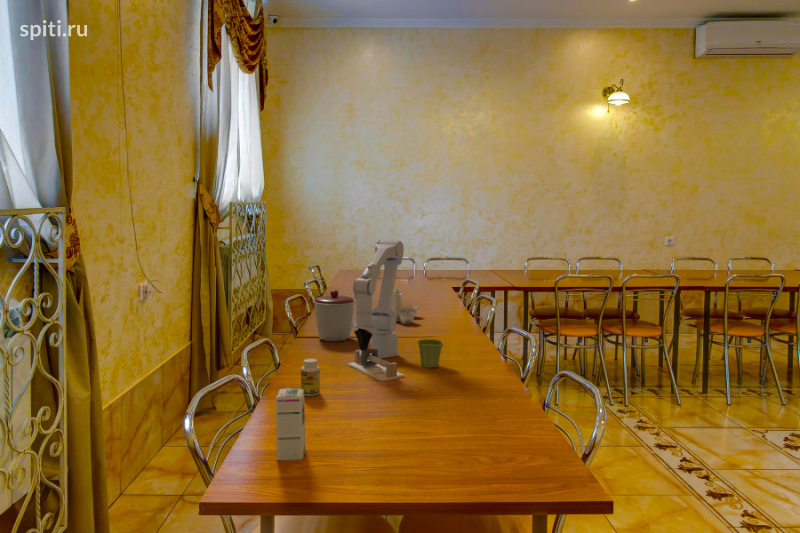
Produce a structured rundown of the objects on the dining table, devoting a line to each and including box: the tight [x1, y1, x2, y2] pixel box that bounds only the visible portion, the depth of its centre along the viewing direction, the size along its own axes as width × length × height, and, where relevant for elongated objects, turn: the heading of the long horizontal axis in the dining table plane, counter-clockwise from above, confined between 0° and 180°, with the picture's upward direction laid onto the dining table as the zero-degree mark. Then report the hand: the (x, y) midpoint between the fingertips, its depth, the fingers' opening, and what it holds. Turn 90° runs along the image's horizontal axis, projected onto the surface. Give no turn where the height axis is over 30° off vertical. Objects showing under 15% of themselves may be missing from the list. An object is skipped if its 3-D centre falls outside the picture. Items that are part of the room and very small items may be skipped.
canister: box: [312, 289, 356, 342], centre depth 238 cm, size 18×18×21 cm
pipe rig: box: [347, 349, 405, 382], centre depth 192 cm, size 22×9×5 cm, turn 35°
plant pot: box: [417, 338, 445, 369], centre depth 199 cm, size 9×9×9 cm
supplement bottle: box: [300, 358, 321, 397], centre depth 167 cm, size 6×6×10 cm
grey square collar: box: [361, 348, 378, 366], centre depth 194 cm, size 2×5×5 cm, turn 124°
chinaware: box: [390, 288, 419, 325], centre depth 281 cm, size 28×17×17 cm, turn 179°
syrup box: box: [275, 387, 306, 461], centre depth 125 cm, size 6×6×14 cm
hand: (363, 350), depth 197 cm, fingers closed
